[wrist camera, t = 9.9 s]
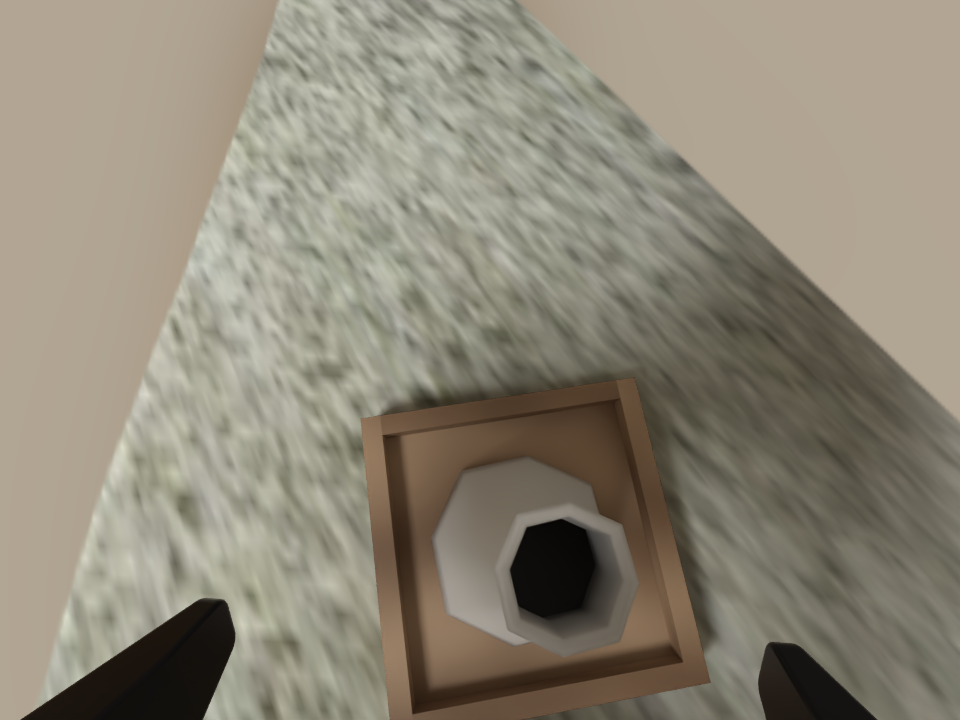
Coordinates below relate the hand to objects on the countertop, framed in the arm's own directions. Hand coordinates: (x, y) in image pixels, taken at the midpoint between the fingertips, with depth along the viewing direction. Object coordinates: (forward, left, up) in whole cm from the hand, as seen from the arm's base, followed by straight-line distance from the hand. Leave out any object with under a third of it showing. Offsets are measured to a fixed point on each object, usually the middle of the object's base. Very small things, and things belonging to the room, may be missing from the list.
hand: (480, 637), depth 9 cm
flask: (0, -2, -13) cm, 13 cm away
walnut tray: (0, -2, -13) cm, 14 cm away
